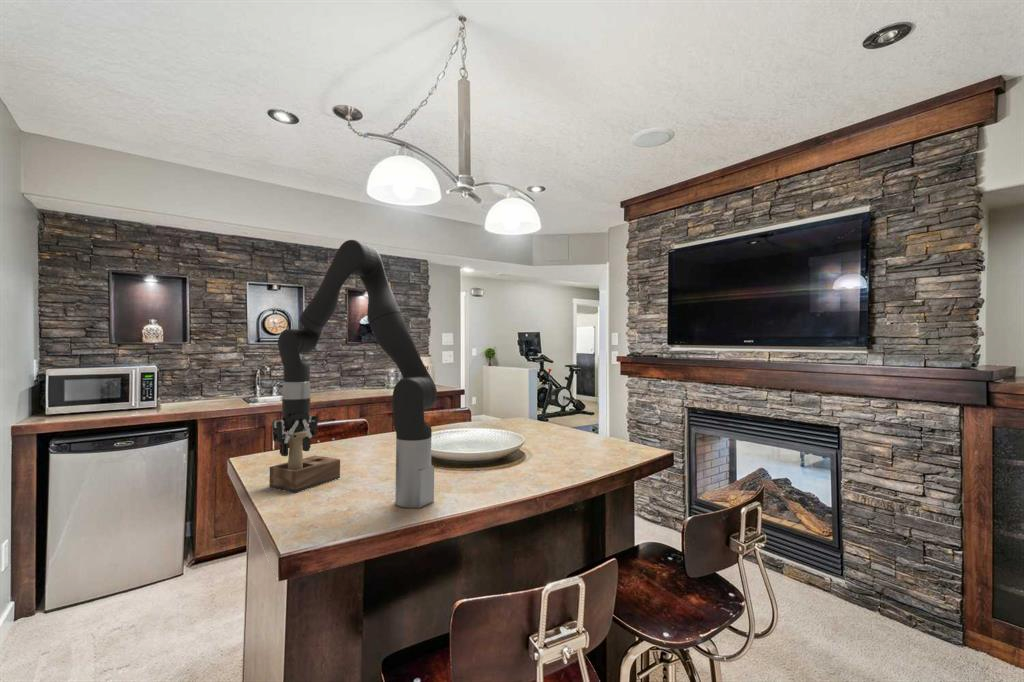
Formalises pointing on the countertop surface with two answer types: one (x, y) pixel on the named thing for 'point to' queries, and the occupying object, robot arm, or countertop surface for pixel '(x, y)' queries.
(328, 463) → the socket block
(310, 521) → the countertop surface
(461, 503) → the countertop surface
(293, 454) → the handle
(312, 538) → the countertop surface
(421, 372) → the robot arm
